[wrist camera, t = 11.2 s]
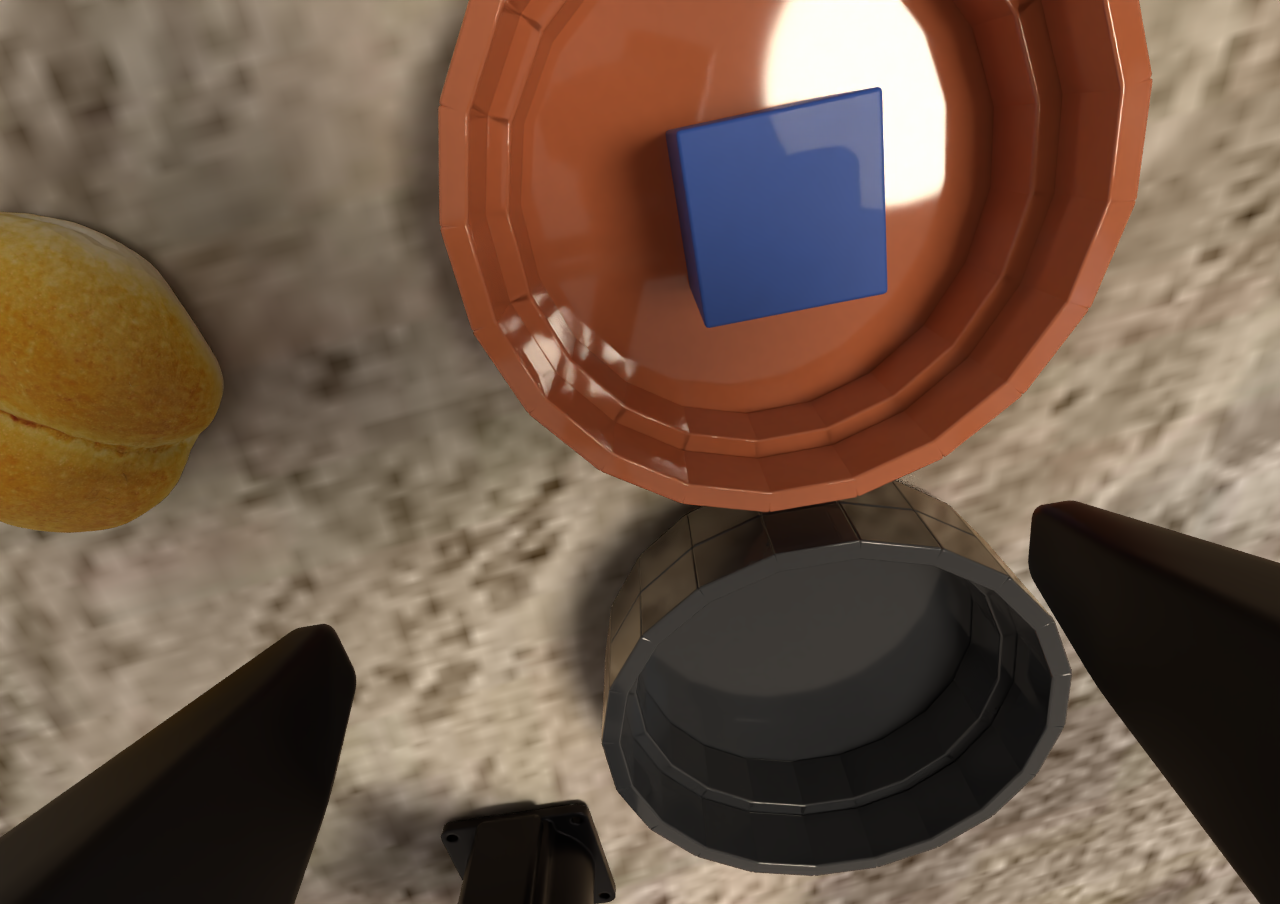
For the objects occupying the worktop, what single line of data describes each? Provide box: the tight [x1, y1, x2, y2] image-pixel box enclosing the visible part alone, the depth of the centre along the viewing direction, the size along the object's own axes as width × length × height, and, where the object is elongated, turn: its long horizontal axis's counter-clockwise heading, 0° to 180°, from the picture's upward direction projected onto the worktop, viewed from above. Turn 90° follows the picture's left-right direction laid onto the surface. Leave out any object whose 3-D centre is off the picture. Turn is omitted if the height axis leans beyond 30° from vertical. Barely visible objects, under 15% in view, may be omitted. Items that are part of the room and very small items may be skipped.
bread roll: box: [0, 212, 224, 533], centre depth 17 cm, size 8×9×4 cm
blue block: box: [666, 87, 888, 328], centre depth 15 cm, size 4×4×4 cm
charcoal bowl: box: [602, 480, 1072, 876], centre depth 22 cm, size 14×14×4 cm
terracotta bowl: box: [438, 0, 1152, 512], centre depth 15 cm, size 14×14×4 cm
